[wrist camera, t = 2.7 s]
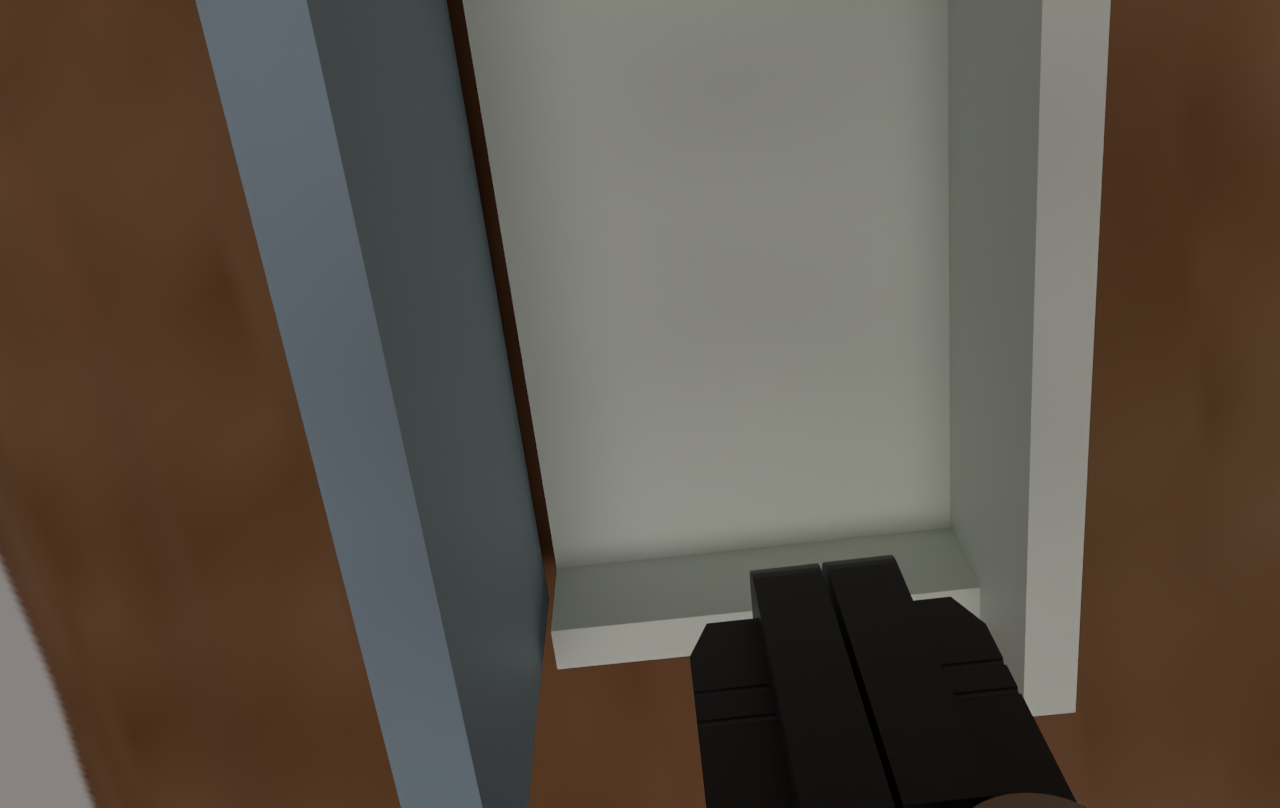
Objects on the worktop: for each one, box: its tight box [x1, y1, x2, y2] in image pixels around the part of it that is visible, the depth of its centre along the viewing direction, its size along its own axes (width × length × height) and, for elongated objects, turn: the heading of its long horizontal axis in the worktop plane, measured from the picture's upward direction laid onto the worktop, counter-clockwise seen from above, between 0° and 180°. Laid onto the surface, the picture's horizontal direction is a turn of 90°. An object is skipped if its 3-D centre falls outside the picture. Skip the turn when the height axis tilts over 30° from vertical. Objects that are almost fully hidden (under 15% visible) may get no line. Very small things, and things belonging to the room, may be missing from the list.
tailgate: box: [196, 0, 549, 808], centre depth 20 cm, size 1×16×10 cm, turn 6°
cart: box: [462, 0, 1111, 716], centre depth 22 cm, size 10×17×7 cm, turn 6°
